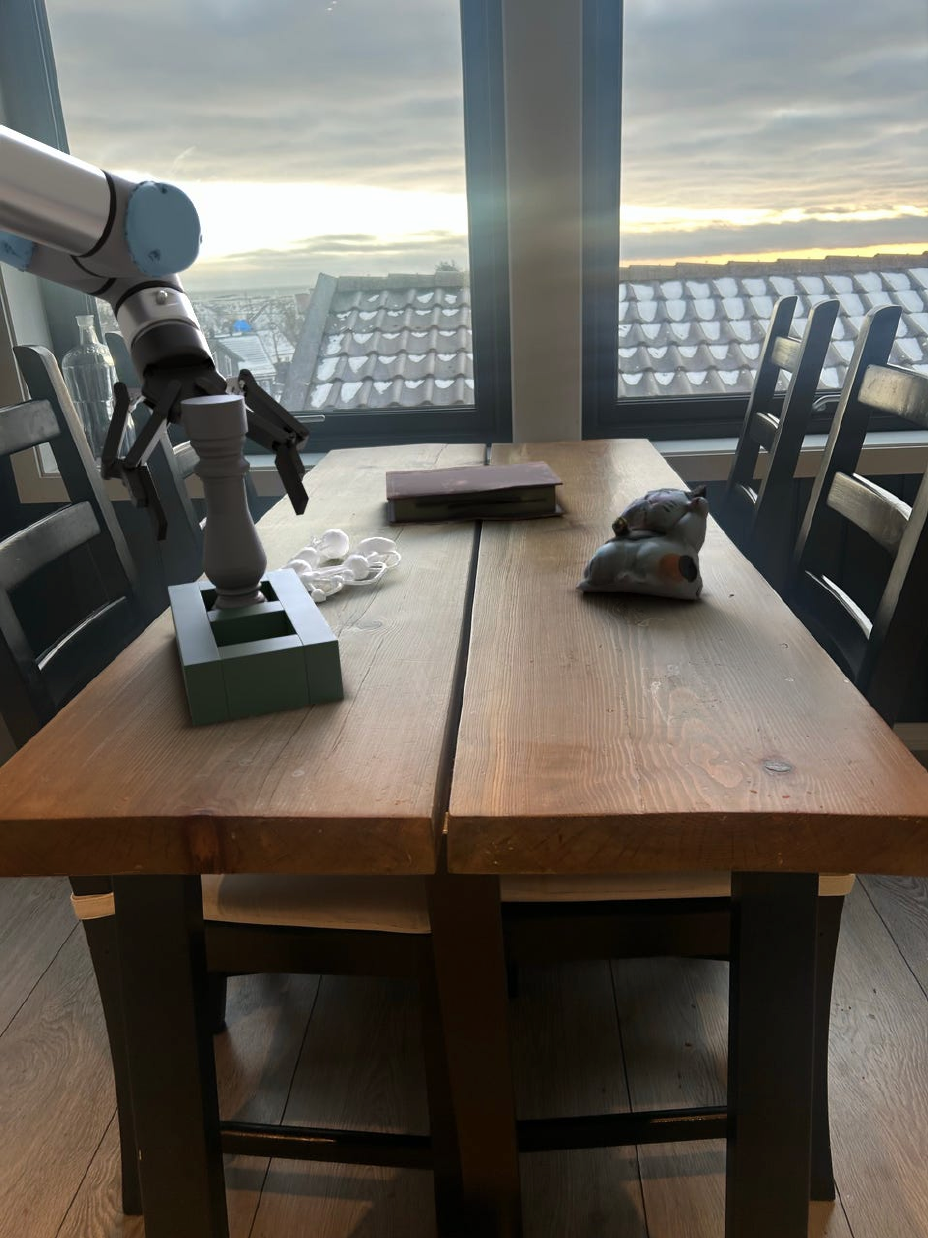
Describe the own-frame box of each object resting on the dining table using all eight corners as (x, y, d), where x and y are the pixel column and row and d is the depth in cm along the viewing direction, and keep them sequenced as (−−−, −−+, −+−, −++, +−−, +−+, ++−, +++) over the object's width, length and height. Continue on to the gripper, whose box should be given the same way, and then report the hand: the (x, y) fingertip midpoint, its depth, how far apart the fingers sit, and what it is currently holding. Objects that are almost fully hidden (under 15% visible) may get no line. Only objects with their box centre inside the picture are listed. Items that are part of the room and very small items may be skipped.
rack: (194, 731, 84) (183, 665, 82) (176, 640, 104) (167, 586, 102) (344, 703, 88) (338, 639, 85) (299, 621, 108) (292, 568, 106)
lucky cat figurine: (557, 589, 113) (586, 470, 114) (648, 615, 117) (674, 500, 118) (622, 588, 99) (654, 453, 100) (723, 618, 103) (752, 488, 104)
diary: (388, 499, 158) (385, 468, 157) (544, 489, 160) (543, 457, 158) (389, 530, 141) (386, 495, 139) (564, 517, 142) (564, 483, 141)
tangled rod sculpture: (332, 627, 109) (330, 592, 107) (228, 602, 115) (224, 568, 113) (421, 570, 124) (420, 538, 123) (325, 550, 131) (323, 520, 129)
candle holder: (288, 653, 99) (257, 398, 91) (229, 669, 96) (191, 407, 88) (263, 635, 104) (231, 392, 96) (206, 650, 101) (168, 400, 92)
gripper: (34, 330, 92) (99, 520, 85) (290, 309, 103) (365, 475, 96) (37, 384, 98) (97, 566, 91) (277, 359, 109) (347, 518, 102)
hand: (235, 519), depth 94 cm, fingers open, 13 cm apart
